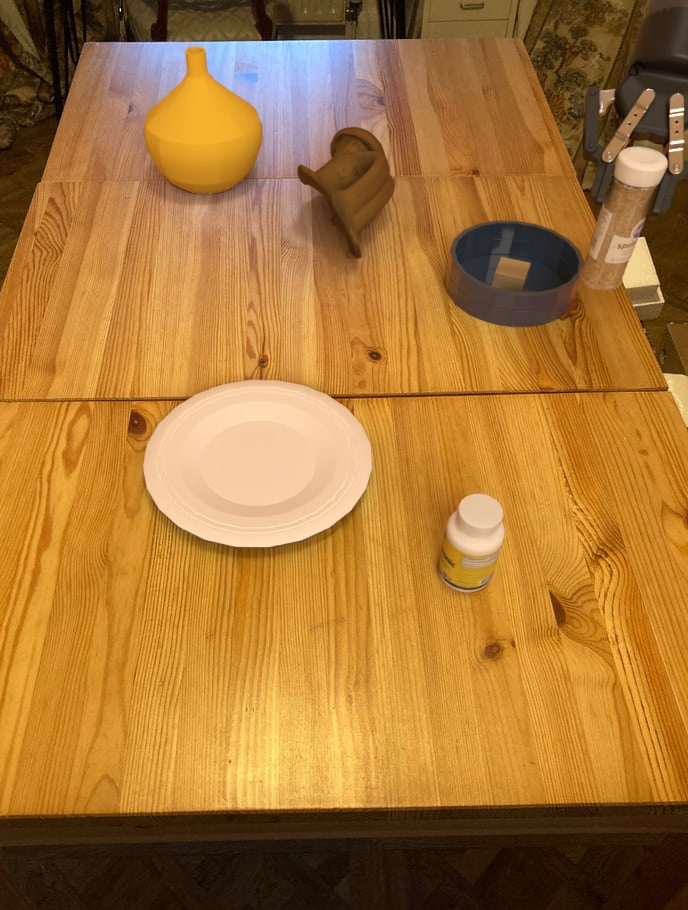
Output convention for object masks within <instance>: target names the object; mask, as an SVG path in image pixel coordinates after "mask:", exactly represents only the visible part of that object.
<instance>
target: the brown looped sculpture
mask: <svg viewBox="0 0 688 910" xmlns="http://www.w3.org/2000/svg"><path fill="white" fill-rule="evenodd" d="M382 145H383V144H381V142H380V140H379V139H378V138H377V137H376V136H375V134H373V133H372V132H370V131H369V130H367V129H365V128H362V127H357V126H348V127H343V128H341V129H340V130H337V132H336V133H335V134H334V135H333V136H332V140H331V142H330V147H329V149H330V157H331V158H330V159H328V161H327V162H326V163H324V164H323V165H322V166H320V167H319V168H318V169H317V170H315V171H314V170H312V169H311V168H309V167H307V166H305V165H304V164H298V166H297V169H296V170H297V177H298V179H299V182H300V183H302V184H303V185H305V186H309V187H311V188H313V189H315V190H316V191H317V192H318V193H320V194H321V195H322V196H323V197H324V199H325V200H326V202H327V203H328V204H329V206H330V208H331V211H332V212H331V216H330V218H329V219H330V221H329V222H330V224H331V225H332V226H333V225H334V226H333V227H335V229H336V230H337V231H338V232H340V233H342V234H343V235H344V237H345V240H346V242H347V246H348V248H349V251H350V252H351V254H352V256H354V257H355V258H356V259H361V258H362V257H363V251H362V248H361V246H360V240H359V236H360V234H361V232H362V231H363V230H364V229H365V228H366V227H367V226H368V225H369V224H371V222H372V221H373V220H374V219H375V218H376V216H377V215H378V214H379V213H380V212H381V211H382V210H383V209H384V207H386V205H387V204H388V203H389V201H390V200H391V198H392V197H393V195H394V193H395V187H396V183H395V180H394V178H393V176H392V175H391V174H390V170H391V169H390V168H391V167H390V164H389V161H388V159H387V157H386V151H385V150H384V147H383V146H382Z"/></svg>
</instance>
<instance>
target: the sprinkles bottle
mask: <svg viewBox="0 0 688 910" xmlns="http://www.w3.org/2000/svg"><path fill="white" fill-rule="evenodd" d="M667 164H668V161H667V158H666V157H665V156H664V155H663V154H662V152H661V151H658V150H656V149H654V148H650V147H645V146H630V147H625V148H624V149H623V150H622V151H620V153H619V154H618V156H617V159H616V161H615V162H614V165H615V166H614V169H613V172H612V176H611V179H610V182H609V185H608V189H607V192H606V195H605V198H604V202H603V205H602V207H601V210H599V214H598V217H597V220H596V223H595V226H594V228H593V232H592V235H591V238H590V240H589V245H588V247H587V253H586V256H585V259H584V265H583V268H582V269H581V270H580V273H579V278H580V283H582V284H583V285H584V286H586V287H588V288H589V289H592V290H595V291H599V292H610V291H614V290H616V289H618V288H619V287H621V285H622V283H623V279H624V275H625V272H626V270H627V267H628V265H629V261H630V259H631V258H632V256H633V253H634V250H635V247H636V245H637V242H638V240H639V237H640V234H641V232H642V230H643V227H644V224H645V221H646V217H647V214H648V211H649V210H650V208H651V207H650V206H651V205H652V201H653V198H654V197H655V194H656V192H657V189H658V185H659V183H660V182H661V180H662V178H663V175H664V173H665V170H666V168H667Z"/></svg>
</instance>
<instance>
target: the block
mask: <svg viewBox="0 0 688 910" xmlns="http://www.w3.org/2000/svg"><path fill="white" fill-rule="evenodd" d="M530 265H531V263H528V262H524V261H519V260H514V259H510V258H505V257H501V259H500V261H499V264H498V266H497V269H496V271H495V274H494V279H493V283H492V286H493V287H496V288H500V289H505V290H510V291H516V292H523V290H524V287H525V284H526V280H527V276H528V272H529V268H530Z"/></svg>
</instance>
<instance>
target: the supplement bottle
mask: <svg viewBox="0 0 688 910" xmlns="http://www.w3.org/2000/svg"><path fill="white" fill-rule="evenodd" d="M503 518H504V509H503V507H502V505H501V503H499V501H498V500H497V499H495V498H494V497H492V496H490V495H488V494H484V493H472V494H469V495H466V496H465V497H464V498H462V499H461V501H459V504H458V508H457V509H456V510H455V511H454V512H453V513H452V514H451V515H450V517H448V520H447V522H446V525H445V530H444V533H443V534H444V535H443V540H442V544H441V547H440V551H439V555H438V561H437V572H438V575H439V577H440V579H441V580H442V582H443V583H444V585H446V586H448V587H449V588H451V589H452V590H454V591H457V592H461V593H475V592H479V591H480V590H482V589H485V587H486V586H487V585H489V583H490V581H491V579H492V577H493V575H494V572H495V568H496V565H497V562H498V559H499V556H500V552H501V549H502V546H503V544H504V540H505V536H506V529H505V525H504V523H503Z"/></svg>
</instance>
